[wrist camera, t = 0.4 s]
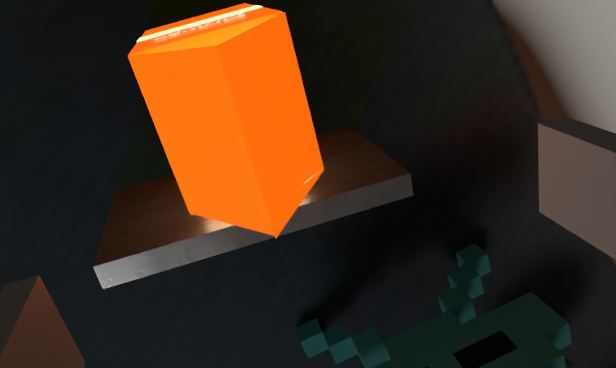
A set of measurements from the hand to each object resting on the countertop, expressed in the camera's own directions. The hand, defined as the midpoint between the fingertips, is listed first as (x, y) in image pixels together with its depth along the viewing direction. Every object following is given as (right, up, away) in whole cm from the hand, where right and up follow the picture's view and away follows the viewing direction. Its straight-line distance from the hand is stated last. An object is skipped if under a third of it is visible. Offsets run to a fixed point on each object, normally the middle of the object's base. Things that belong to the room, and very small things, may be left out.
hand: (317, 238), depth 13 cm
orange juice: (-8, +10, +26) cm, 29 cm away
